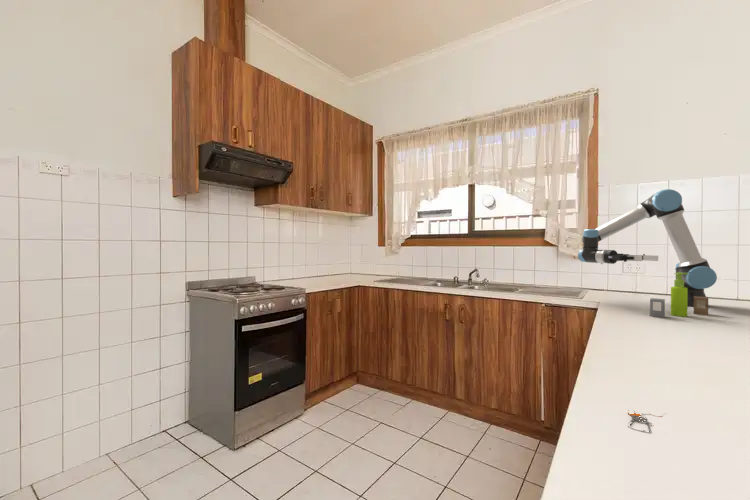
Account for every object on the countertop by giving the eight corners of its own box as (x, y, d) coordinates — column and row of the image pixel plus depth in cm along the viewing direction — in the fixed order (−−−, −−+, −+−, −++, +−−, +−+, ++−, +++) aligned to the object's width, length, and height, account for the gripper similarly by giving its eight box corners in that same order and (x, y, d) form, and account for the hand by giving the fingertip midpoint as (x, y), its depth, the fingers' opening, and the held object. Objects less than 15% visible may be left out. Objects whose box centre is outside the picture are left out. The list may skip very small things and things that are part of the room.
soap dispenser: (693, 316, 160) (693, 273, 160) (677, 316, 160) (678, 273, 160) (682, 314, 166) (682, 272, 166) (667, 314, 166) (667, 272, 166)
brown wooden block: (693, 312, 170) (693, 296, 170) (707, 313, 166) (707, 297, 166) (693, 314, 166) (693, 297, 166) (708, 315, 162) (708, 298, 162)
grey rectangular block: (650, 314, 164) (650, 298, 164) (664, 316, 161) (664, 299, 161) (650, 316, 161) (650, 299, 161) (664, 317, 157) (664, 300, 157)
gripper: (620, 263, 199) (664, 265, 180) (592, 263, 189) (634, 266, 170) (621, 250, 199) (664, 251, 180) (592, 249, 189) (635, 250, 169)
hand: (650, 258), depth 175 cm, fingers open, 13 cm apart
